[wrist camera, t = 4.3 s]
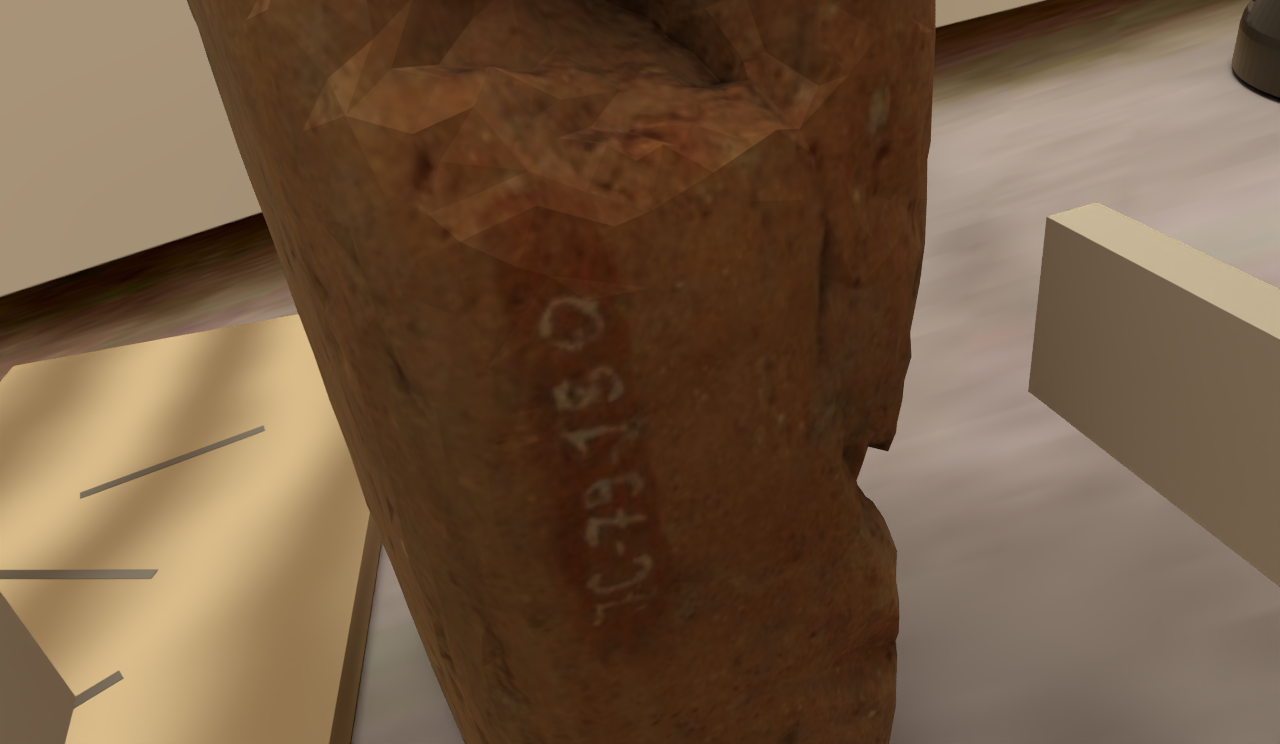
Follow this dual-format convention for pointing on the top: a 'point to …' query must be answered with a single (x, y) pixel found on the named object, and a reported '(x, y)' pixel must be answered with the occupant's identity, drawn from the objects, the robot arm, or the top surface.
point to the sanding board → (189, 538)
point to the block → (609, 336)
